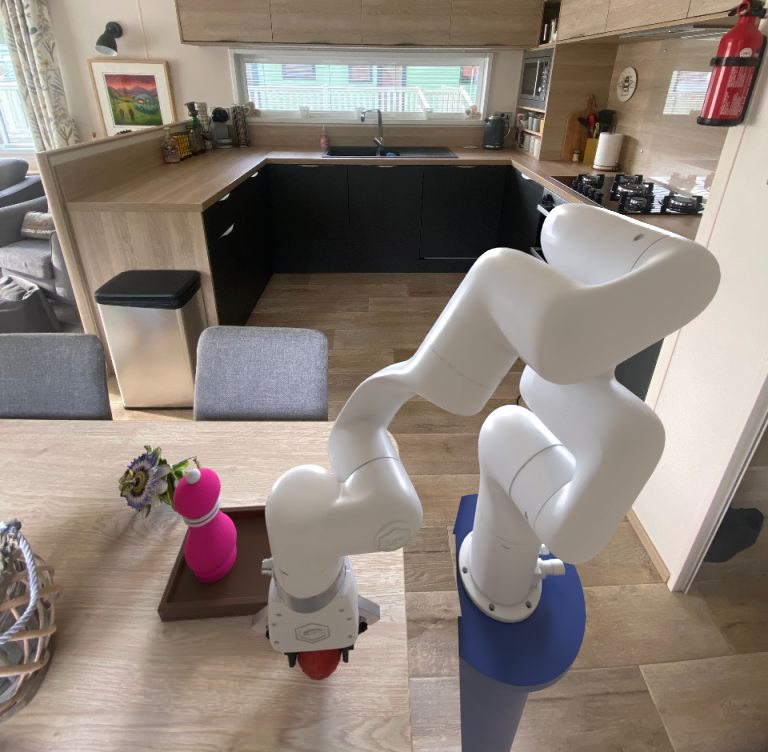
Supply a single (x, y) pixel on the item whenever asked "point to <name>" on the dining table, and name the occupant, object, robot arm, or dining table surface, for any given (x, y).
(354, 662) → the dining table surface
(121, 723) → the dining table surface
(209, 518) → the pepper mill
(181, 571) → the tray
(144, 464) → the passion flower
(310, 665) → the onion
